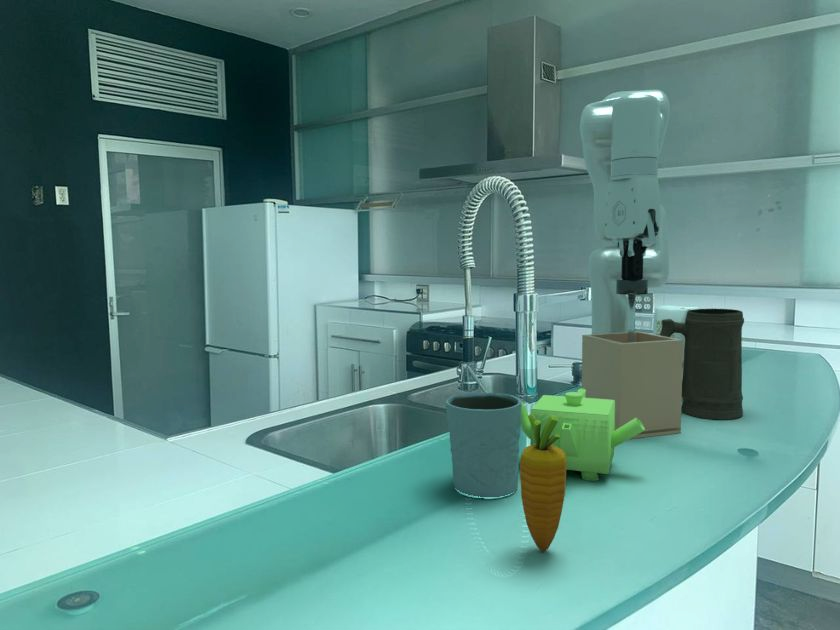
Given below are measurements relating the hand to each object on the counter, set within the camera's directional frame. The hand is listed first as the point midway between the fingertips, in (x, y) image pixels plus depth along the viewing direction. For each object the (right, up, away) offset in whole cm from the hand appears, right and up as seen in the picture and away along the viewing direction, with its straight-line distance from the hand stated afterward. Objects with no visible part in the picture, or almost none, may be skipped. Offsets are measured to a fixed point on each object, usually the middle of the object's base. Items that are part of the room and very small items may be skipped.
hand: (632, 279), depth 110 cm
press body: (0, -26, +4) cm, 26 cm away
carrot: (-24, -31, -42) cm, 58 cm away
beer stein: (+17, -25, +12) cm, 32 cm away
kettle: (-14, -29, -17) cm, 36 cm away
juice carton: (+18, -23, +26) cm, 39 cm away
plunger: (0, -15, +2) cm, 15 cm away
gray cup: (-28, -30, -24) cm, 47 cm away
